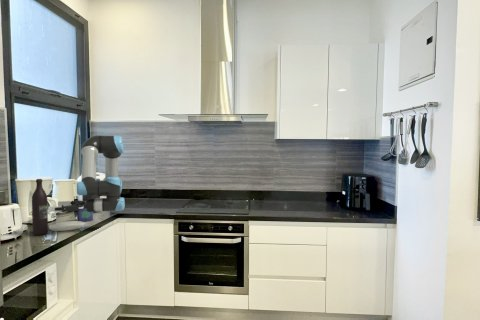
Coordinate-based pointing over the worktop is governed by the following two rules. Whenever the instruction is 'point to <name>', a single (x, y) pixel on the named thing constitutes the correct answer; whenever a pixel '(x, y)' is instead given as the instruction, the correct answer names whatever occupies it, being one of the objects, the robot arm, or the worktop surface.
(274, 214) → the worktop surface
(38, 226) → the wine bottle
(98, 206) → the robot arm
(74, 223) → the ceramic dish
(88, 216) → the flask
